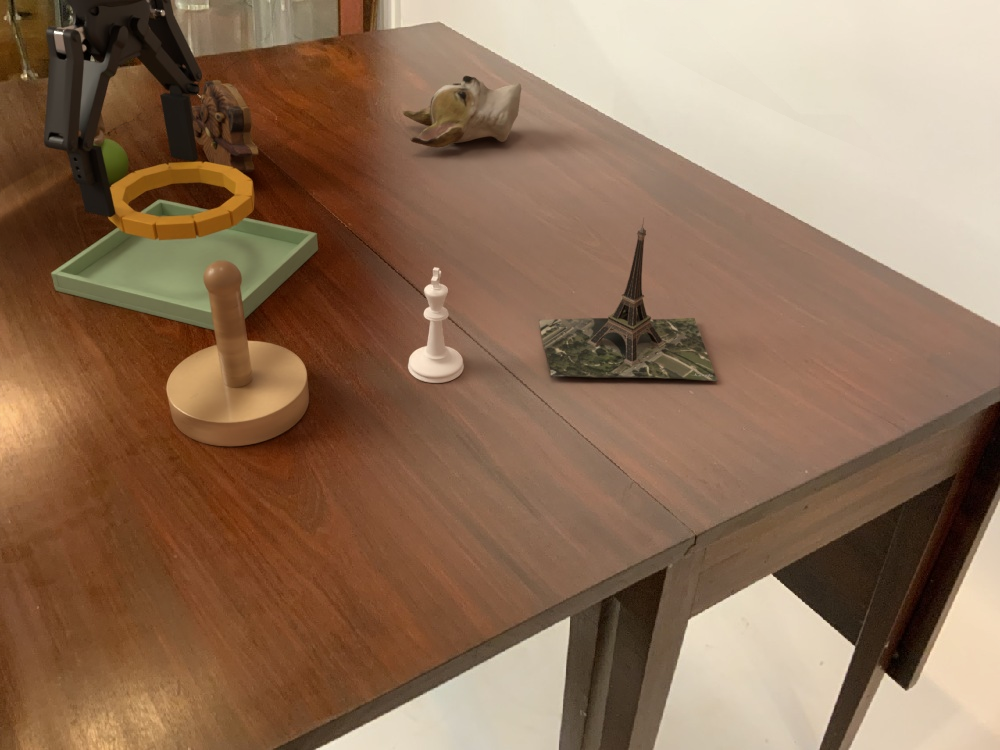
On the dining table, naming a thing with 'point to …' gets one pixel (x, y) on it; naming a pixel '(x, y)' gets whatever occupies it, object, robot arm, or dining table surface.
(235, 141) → the wooden carving
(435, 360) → the chess piece
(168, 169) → the hoop
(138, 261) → the tray
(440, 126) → the ceramic sculpture
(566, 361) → the eiffel tower figurine
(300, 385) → the post
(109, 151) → the snail figurine
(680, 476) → the dining table surface
